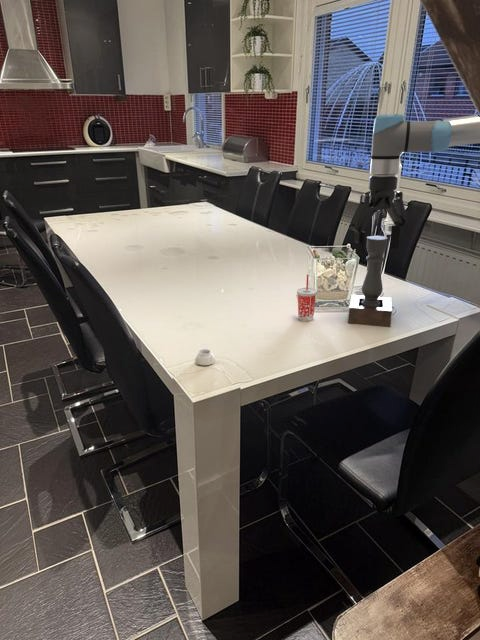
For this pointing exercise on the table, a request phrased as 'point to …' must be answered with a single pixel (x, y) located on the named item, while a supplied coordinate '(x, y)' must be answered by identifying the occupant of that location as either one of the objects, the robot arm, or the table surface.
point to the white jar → (205, 357)
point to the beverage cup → (306, 302)
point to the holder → (370, 312)
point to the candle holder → (374, 271)
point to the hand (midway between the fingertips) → (377, 251)
